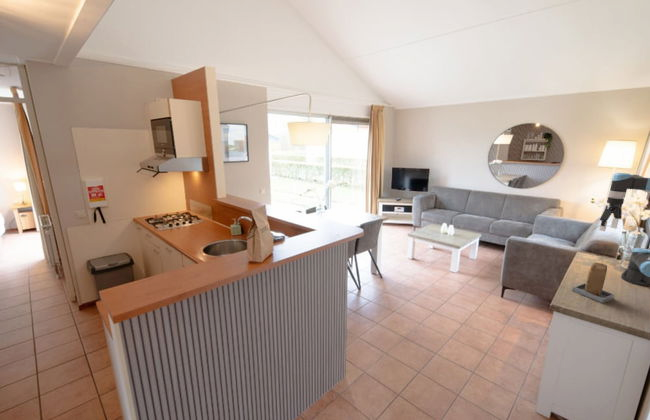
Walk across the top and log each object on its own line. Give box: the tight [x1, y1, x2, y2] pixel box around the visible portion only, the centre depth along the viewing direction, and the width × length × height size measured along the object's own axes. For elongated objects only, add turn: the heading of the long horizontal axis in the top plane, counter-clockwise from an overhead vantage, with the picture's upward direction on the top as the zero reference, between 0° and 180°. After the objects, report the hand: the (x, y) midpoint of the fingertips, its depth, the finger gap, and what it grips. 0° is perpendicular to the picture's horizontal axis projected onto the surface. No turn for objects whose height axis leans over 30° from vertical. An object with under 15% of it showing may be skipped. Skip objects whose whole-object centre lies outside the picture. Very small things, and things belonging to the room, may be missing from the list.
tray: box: [571, 282, 615, 304], centre depth 183 cm, size 13×16×3 cm
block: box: [585, 262, 608, 297], centre depth 180 cm, size 11×8×20 cm
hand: (607, 229), depth 192 cm, fingers open, 13 cm apart
